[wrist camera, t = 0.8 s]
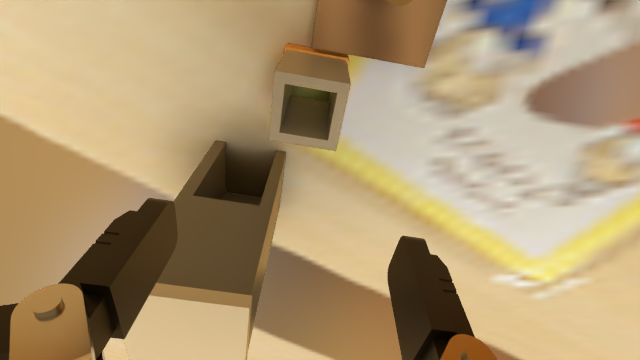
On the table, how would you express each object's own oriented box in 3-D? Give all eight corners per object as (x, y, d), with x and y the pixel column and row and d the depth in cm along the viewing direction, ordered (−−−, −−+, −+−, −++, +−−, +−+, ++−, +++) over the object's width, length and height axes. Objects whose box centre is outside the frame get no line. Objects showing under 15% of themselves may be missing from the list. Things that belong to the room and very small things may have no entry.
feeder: (287, 151, 32) (249, 308, 17) (280, 208, 36) (243, 376, 21) (214, 139, 32) (109, 290, 17) (215, 198, 35) (130, 363, 20)
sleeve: (348, 54, 27) (354, 81, 20) (336, 112, 30) (338, 153, 23) (286, 43, 27) (271, 66, 20) (280, 103, 29) (265, 142, 23)
